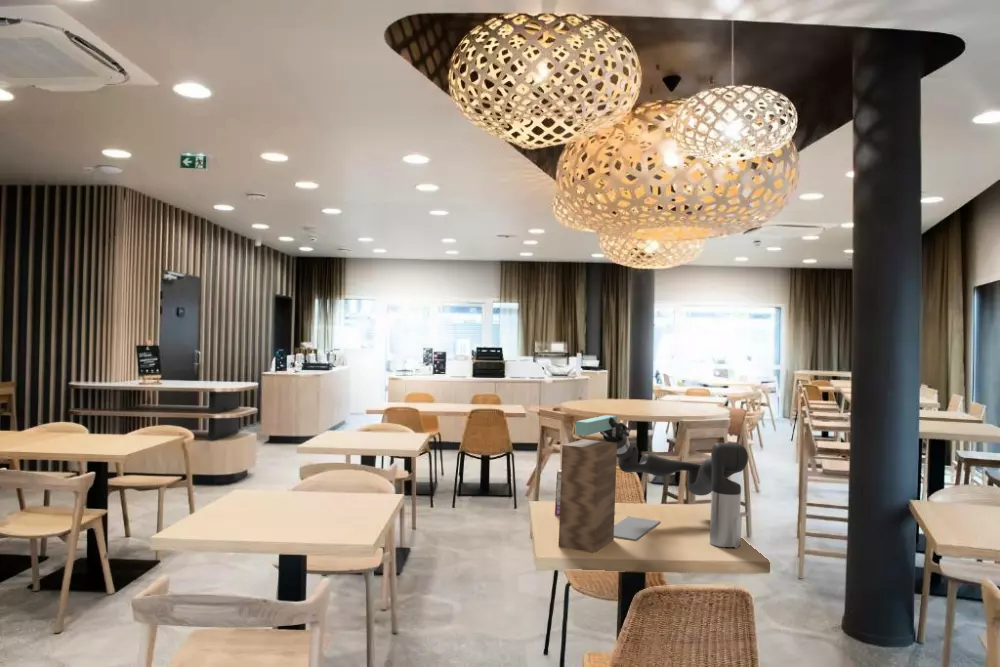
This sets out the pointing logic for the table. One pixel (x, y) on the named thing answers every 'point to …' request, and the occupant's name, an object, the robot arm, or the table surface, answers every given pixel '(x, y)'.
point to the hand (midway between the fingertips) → (603, 419)
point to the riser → (587, 495)
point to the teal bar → (594, 425)
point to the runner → (633, 528)
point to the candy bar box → (558, 493)
